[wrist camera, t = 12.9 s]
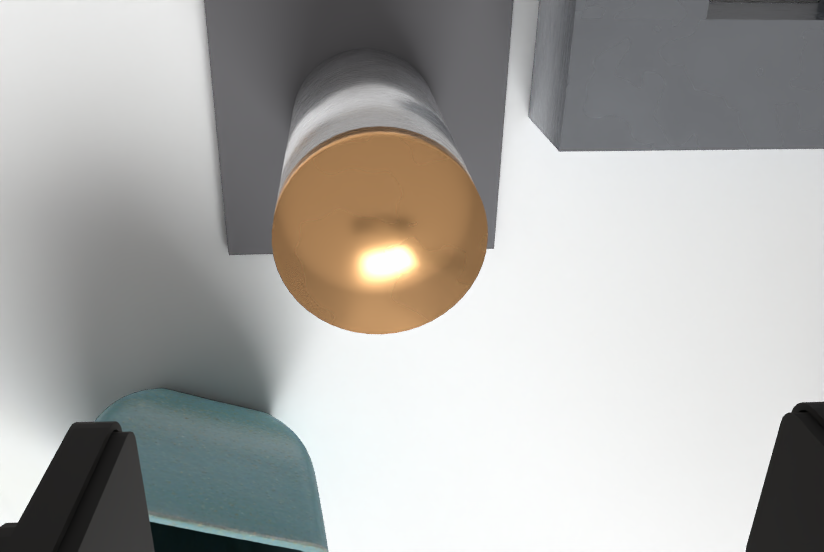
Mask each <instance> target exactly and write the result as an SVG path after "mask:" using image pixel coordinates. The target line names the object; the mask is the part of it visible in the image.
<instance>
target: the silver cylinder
mask: <svg viewBox="0 0 824 552" xmlns="http://www.w3.org/2000/svg"><path fill="white" fill-rule="evenodd" d="M487 241H488V225H487V218H486V213H485V209H484V206H483V203H482V200H481V198H480V196H479V193H478V191H477V189H476V187H475V185H474V183H473V181H472V178H471V176H470V174H469V172H468V170H467V168H466V166H465V163H464V161H463V159H462V157H461V155H460V153H459V151H458V148H457V146H456V144H455V142H454V140H453V138H452V136H451V134H450V131H449V129H448V127H447V125H446V123H445V121H444V119H443V116H442V114H441V112H440V110H439V108H438V106H437V104H436V101H435V99H434V97H433V95H432V93H431V91H430V89H429V86H428V85H427V83H426V82H425V80H424V78H423V77H422V76H421V75H420V74H419V72H418V71H417V70H416V69H415V68H414V67H413V66H411V65H410V64H409V63H408V62H406V61H405V60H403V59H402V58H400V57H398V56H396V55H394V54H391V53H388V52H385V51H382V50H377V49H366V48H363V49H352V50H348V51H344V52H341V53H338V54H335V55H333V56H331V57H329V58H327V59H326V60H324V61H323V62H322V63H320V64H319V65H318V66H317V67H316V68H314V69H313V70H312V71H311V73H310V74H309V75H308V76H307V77H306V79H305V80H304V82H303V84H302V85H301V87H300V89H299V91H298V94H297V96H296V100H295V103H294V108H293V114H292V119H291V125H290V130H289V136H288V142H287V147H286V153H285V158H284V164H283V169H282V175H281V180H280V186H279V191H278V197H277V202H276V208H275V213H274V219H273V226H272V249H273V256H274V260H275V263H276V267H277V270H278V272H279V274H280V276H281V278H282V281H283V282H284V284H285V285H286V287H287V289H288V290H289V292H290V293H291V294H292V295H293V296H294V298H295V299H296V300H297V301H298V302H299V303H300V304H301V305H302V306H303V307H304V308H305V309H307V310H308V311H309V312H311V313H312V314H313V315H315V316H316V317H318V318H319V319H321V320H323V321H325V322H327V323H329V324H331V325H334V326H336V327H339V328H341V329H345V330H349V331H353V332H358V333H366V334H388V333H397V332H402V331H406V330H410V329H413V328H416V327H419V326H422V325H424V324H426V323H428V322H431V321H433V320H434V319H436V318H438V317H439V316H441V315H443V314H444V313H445V312H447V311H448V310H449V309H450V308H452V307H453V306H454V305H455V304H456V303H457V302H458V301H459V300H460V299H461V298H462V297H463V296H464V295H465V294H466V292H467V291H468V290H469V289H470V287H471V286H472V284H473V282H474V281H475V279H476V277H477V276H478V274H479V271H480V269H481V267H482V264H483V261H484V257H485V254H486V249H487Z"/></svg>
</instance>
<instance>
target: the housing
mask: <svg viewBox="0 0 824 552" xmlns="http://www.w3.org/2000/svg"><path fill="white" fill-rule="evenodd" d="M709 1H710V0H540V2H539V13H538V23H537V34H536V45H535V56H534V67H533V77H532V88H531V99H530V110H529V118H530V119H531V120H532V122H533V123H534V124H535V125H536V126H537V127H538V128H539V129H540V130H541V132H542V133H543V134H544V135H545V136H546V137H547V138H548V139H549V140H550V142H551V143H552V144H553V145H554V146H555V147H556V148H557V149H558V151H645V150H738V149H824V0H819V3H759V2H709Z"/></svg>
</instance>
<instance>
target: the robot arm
mask: <svg viewBox="0 0 824 552" xmlns="http://www.w3.org/2000/svg"><path fill="white" fill-rule="evenodd" d="M0 552H155V550H154V544H153V538H152V532H151V526H150V520H149V514H148V508H147V502H146V496H145V490H144V484H143V478H142V472H141V467H140V461H139V455H138V449H137V443H136V438H135V435H134V433H133V432H131V431H128V432H122V428H121V426H120V424H119V423H118V422H116V421H107V422H76V423H74V424H72V426H71V427H70V428H69V430H68V432H67V434H66V435H65V437H64V439H63V441H62V443H61V445H60V447H59V448H58V450H57V452H56V454H55V456H54V458H53V459H52V461H51V463H50V465H49V467H48V469H47V470H46V472H45V474H44V476H43V478H42V480H41V481H40V483H39V485H38V487H37V489H36V491H35V492H34V494H33V496H32V498H31V500H30V502H29V503H28V505H27V507H26V509H25V511H24V513H23V514H22V516H21V518H20V520H19V522H18V523H5V524H4V525H2V526H1V527H0ZM746 552H824V402H802V403H799V404H797V405H796V406H795V407H794V408H793V410H792V412H791V413H787V414H785V416H784V417H783V418H782V421H781V424H780V427H779V431H778V435H777V438H776V442H775V445H774V449H773V453H772V456H771V460H770V464H769V467H768V471H767V474H766V478H765V482H764V485H763V489H762V492H761V496H760V500H759V503H758V507H757V510H756V514H755V518H754V521H753V525H752V528H751V532H750V536H749V539H748V543H747V546H746Z"/></svg>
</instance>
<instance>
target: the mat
mask: <svg viewBox="0 0 824 552" xmlns="http://www.w3.org/2000/svg"><path fill="white" fill-rule="evenodd" d="M204 2H205V13H206V23H207V33H208V44H209V54H210V65H211V75H212V86H213V96H214V106H215V117H216V127H217V138H218V148H219V159H220V169H221V179H222V190H223V200H224V211H225V221H226V232H227V242H228V252H229V255H246V254H273V249H272V226H273V219H274V213H275V208H276V202H277V197H278V191H279V186H280V180H281V175H282V169H283V164H284V158H285V153H286V147H287V142H288V136H289V130H290V125H291V119H292V114H293V108H294V103H295V100H296V96H297V94H298V91H299V89H300V87H301V85H302V84H303V82H304V80H305V79H306V77H307V76H308V75H309V74H310V73H311V71H312V70H313V69H314V68H316V67H317V66H318V65H319V64H320V63H322V62H323V61H324V60H326V59H327V58H329V57H331V56H333V55H335V54H338V53H341V52H344V51H348V50H352V49H363V48H366V49H377V50H382V51H385V52H388V53H391V54H394V55H396V56H398V57H400V58H402V59H403V60H405V61H406V62H408V63H409V64H410V65H411V66H413V67H414V68H415V69H416V70H417V71H418V72H419V74H420V75H421V76H422V77H423V78H424V80H425V82H426V83H427V85H428V86H429V89H430V91H431V93H432V95H433V97H434V99H435V101H436V104H437V106H438V108H439V110H440V112H441V114H442V116H443V119H444V121H445V123H446V125H447V127H448V129H449V131H450V134H451V136H452V138H453V140H454V142H455V144H456V146H457V148H458V151H459V153H460V155H461V157H462V159H463V161H464V163H465V166H466V168H467V170H468V172H469V174H470V176H471V178H472V181H473V183H474V185H475V187H476V189H477V191H478V193H479V196H480V198H481V200H482V203H483V206H484V209H485V213H486V218H487V225H488V241H487V249H494V241H495V228H496V215H497V202H498V189H499V177H500V164H501V151H502V138H503V125H504V113H505V100H506V87H507V74H508V61H509V49H510V36H511V23H512V10H513V0H204Z"/></svg>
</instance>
